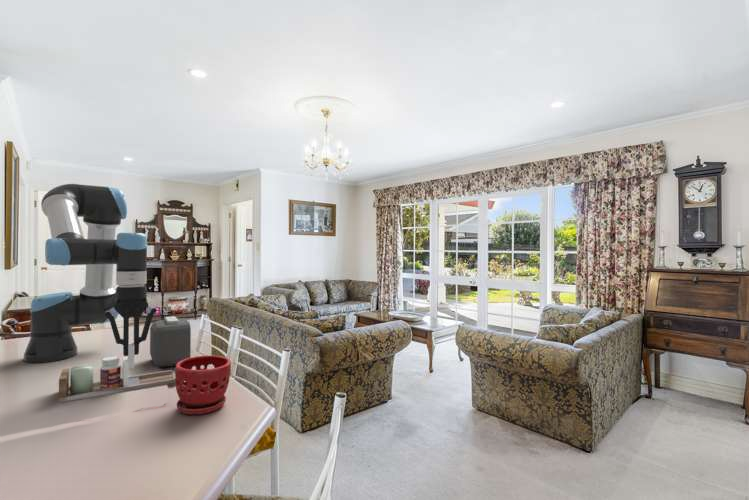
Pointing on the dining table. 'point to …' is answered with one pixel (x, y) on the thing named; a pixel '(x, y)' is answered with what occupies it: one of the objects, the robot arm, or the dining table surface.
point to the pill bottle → (110, 373)
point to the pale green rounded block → (81, 379)
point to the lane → (144, 380)
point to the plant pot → (202, 383)
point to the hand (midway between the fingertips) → (131, 366)
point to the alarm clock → (170, 341)
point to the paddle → (126, 379)
